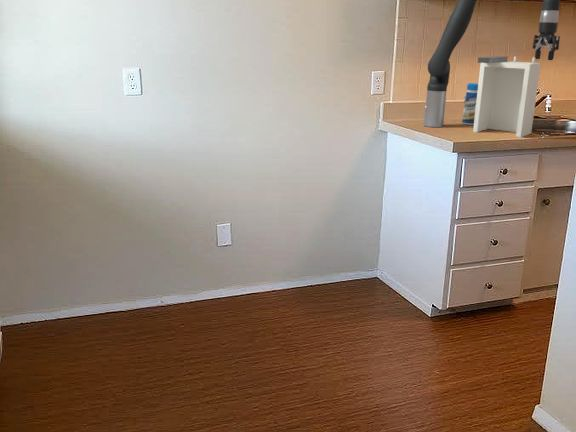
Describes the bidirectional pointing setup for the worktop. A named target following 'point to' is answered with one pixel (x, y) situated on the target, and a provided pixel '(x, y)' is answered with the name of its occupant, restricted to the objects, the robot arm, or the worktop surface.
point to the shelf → (507, 96)
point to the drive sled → (492, 59)
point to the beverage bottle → (470, 104)
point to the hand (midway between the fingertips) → (543, 59)
